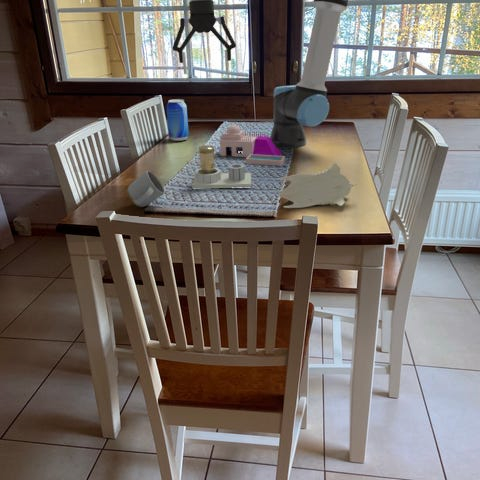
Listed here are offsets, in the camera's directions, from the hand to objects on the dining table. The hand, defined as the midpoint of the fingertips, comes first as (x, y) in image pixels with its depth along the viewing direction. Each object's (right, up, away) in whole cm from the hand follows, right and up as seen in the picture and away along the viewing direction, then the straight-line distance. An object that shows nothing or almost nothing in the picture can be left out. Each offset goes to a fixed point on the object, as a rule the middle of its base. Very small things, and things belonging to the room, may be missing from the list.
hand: (206, 72), depth 152 cm
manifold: (+6, -37, -5) cm, 38 cm away
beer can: (-15, -11, +48) cm, 52 cm away
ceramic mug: (-15, -46, -23) cm, 53 cm away
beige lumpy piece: (+33, -47, -22) cm, 62 cm away
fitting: (+1, -36, -6) cm, 36 cm away
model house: (+16, -24, +21) cm, 36 cm away
